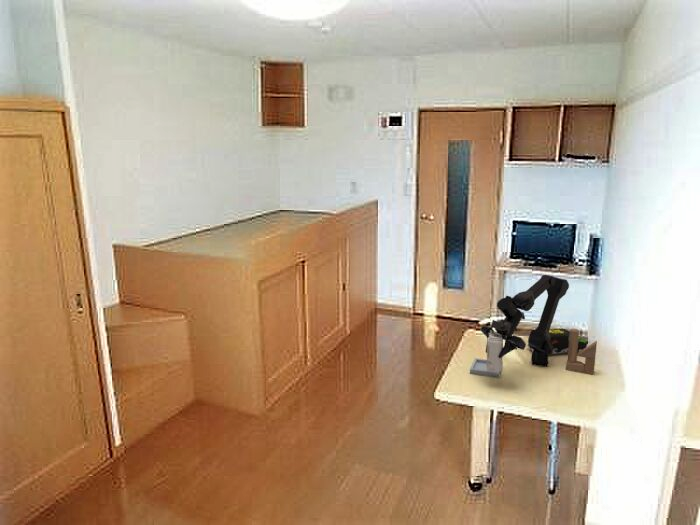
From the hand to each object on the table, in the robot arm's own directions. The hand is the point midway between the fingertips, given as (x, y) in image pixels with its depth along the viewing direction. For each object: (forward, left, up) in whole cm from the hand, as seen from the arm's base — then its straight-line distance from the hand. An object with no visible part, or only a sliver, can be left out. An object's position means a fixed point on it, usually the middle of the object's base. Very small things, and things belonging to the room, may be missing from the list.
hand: (492, 355), depth 205 cm
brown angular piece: (-33, -27, -13) cm, 45 cm away
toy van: (-23, -45, -14) cm, 53 cm away
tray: (+4, -14, -13) cm, 19 cm away
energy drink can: (-1, -1, -7) cm, 7 cm away
